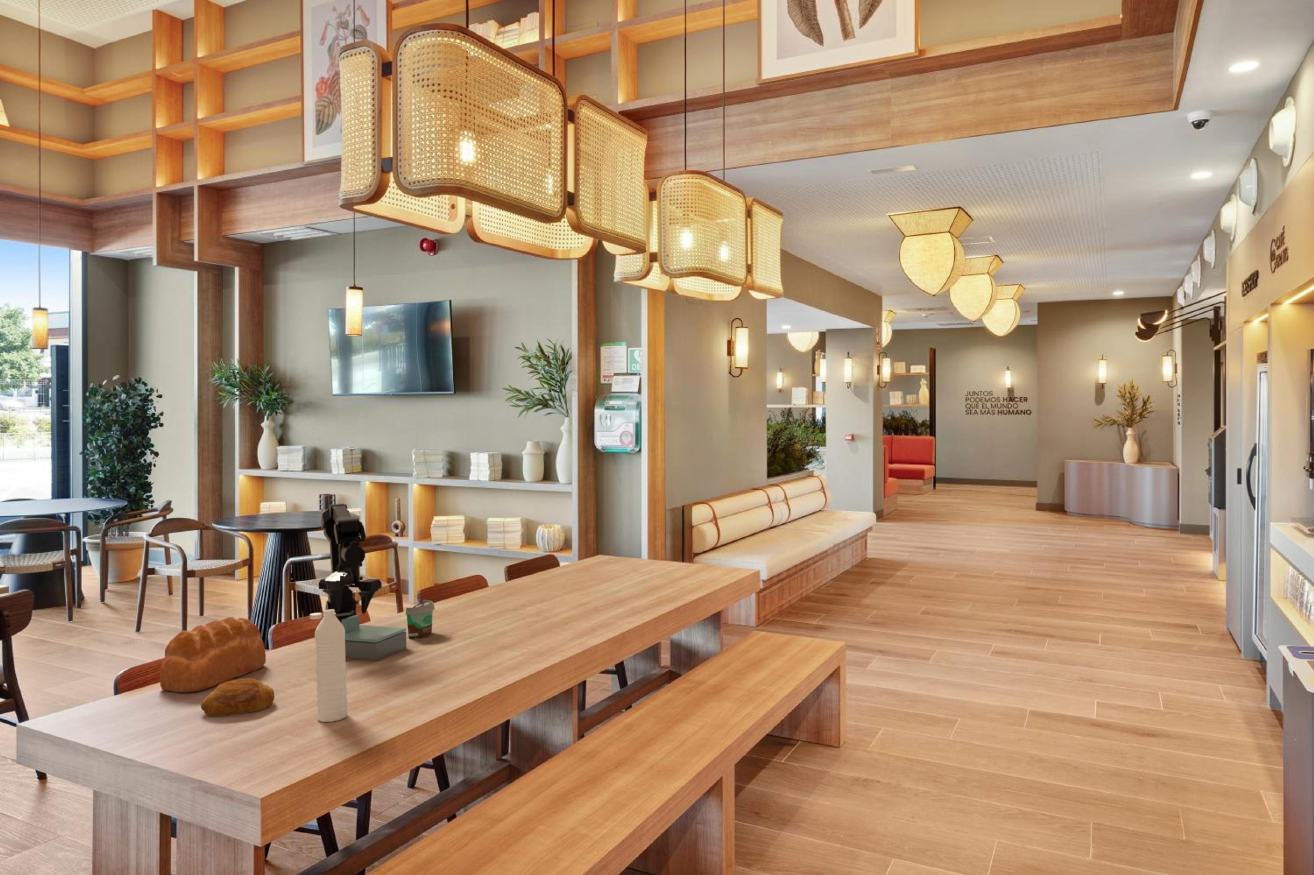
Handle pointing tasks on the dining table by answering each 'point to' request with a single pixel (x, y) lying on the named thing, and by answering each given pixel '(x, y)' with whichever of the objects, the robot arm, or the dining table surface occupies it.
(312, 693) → the dining table surface
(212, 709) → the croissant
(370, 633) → the lid
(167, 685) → the bread
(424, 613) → the food container
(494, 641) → the dining table surface
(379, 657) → the parts box
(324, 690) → the water bottle
